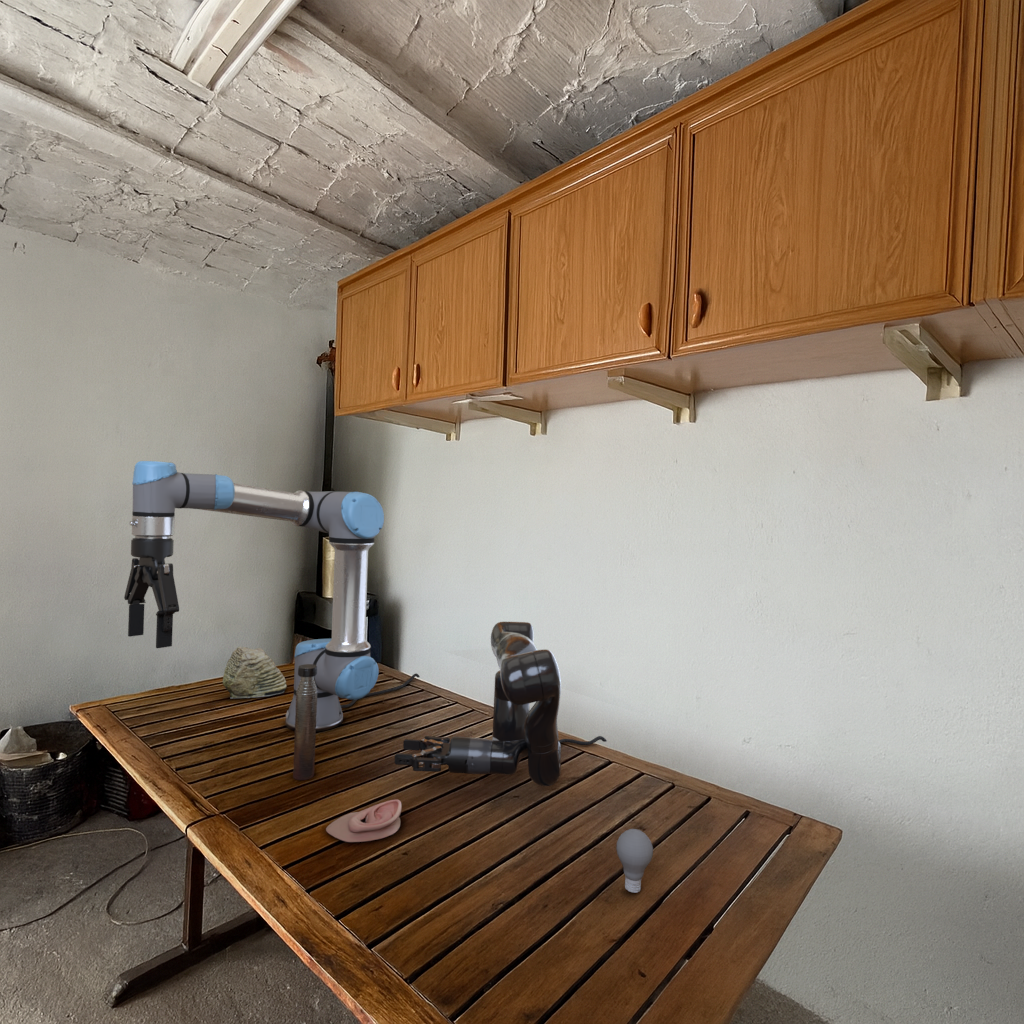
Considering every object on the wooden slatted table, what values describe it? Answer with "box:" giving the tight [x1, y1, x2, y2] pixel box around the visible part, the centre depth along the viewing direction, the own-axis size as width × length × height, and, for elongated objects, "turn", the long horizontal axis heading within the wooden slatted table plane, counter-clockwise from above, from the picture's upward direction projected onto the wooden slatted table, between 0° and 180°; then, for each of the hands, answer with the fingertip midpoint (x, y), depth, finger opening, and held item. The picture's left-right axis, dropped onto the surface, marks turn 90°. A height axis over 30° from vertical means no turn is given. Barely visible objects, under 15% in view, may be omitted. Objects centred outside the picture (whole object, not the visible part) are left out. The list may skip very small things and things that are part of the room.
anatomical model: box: [325, 799, 403, 843], centre depth 122 cm, size 13×4×12 cm
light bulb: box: [615, 828, 654, 894], centre depth 106 cm, size 6×6×10 cm
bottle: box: [292, 676, 317, 781], centre depth 143 cm, size 4×4×24 cm
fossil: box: [222, 646, 288, 699], centre depth 198 cm, size 9×18×15 cm, turn 132°
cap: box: [298, 664, 317, 677], centre depth 143 cm, size 4×4×2 cm
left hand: (149, 641), depth 129 cm, fingers open, 13 cm apart
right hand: (399, 751), depth 142 cm, fingers open, 8 cm apart
